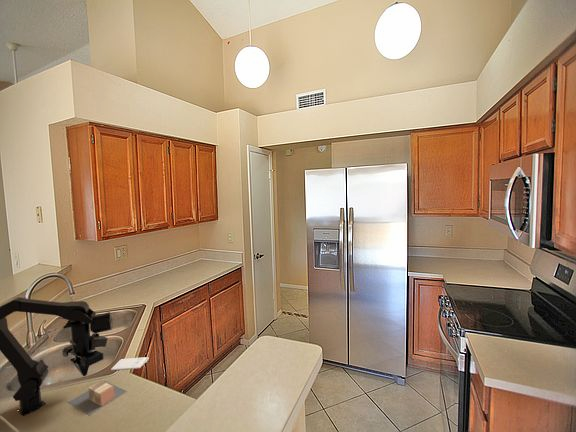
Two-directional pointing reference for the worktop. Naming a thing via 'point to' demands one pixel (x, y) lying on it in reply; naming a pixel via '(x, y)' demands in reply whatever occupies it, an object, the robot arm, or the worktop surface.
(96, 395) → the block
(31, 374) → the robot arm
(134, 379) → the worktop surface
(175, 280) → the worktop surface
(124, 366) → the external hard drive
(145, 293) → the worktop surface
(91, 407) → the mat
